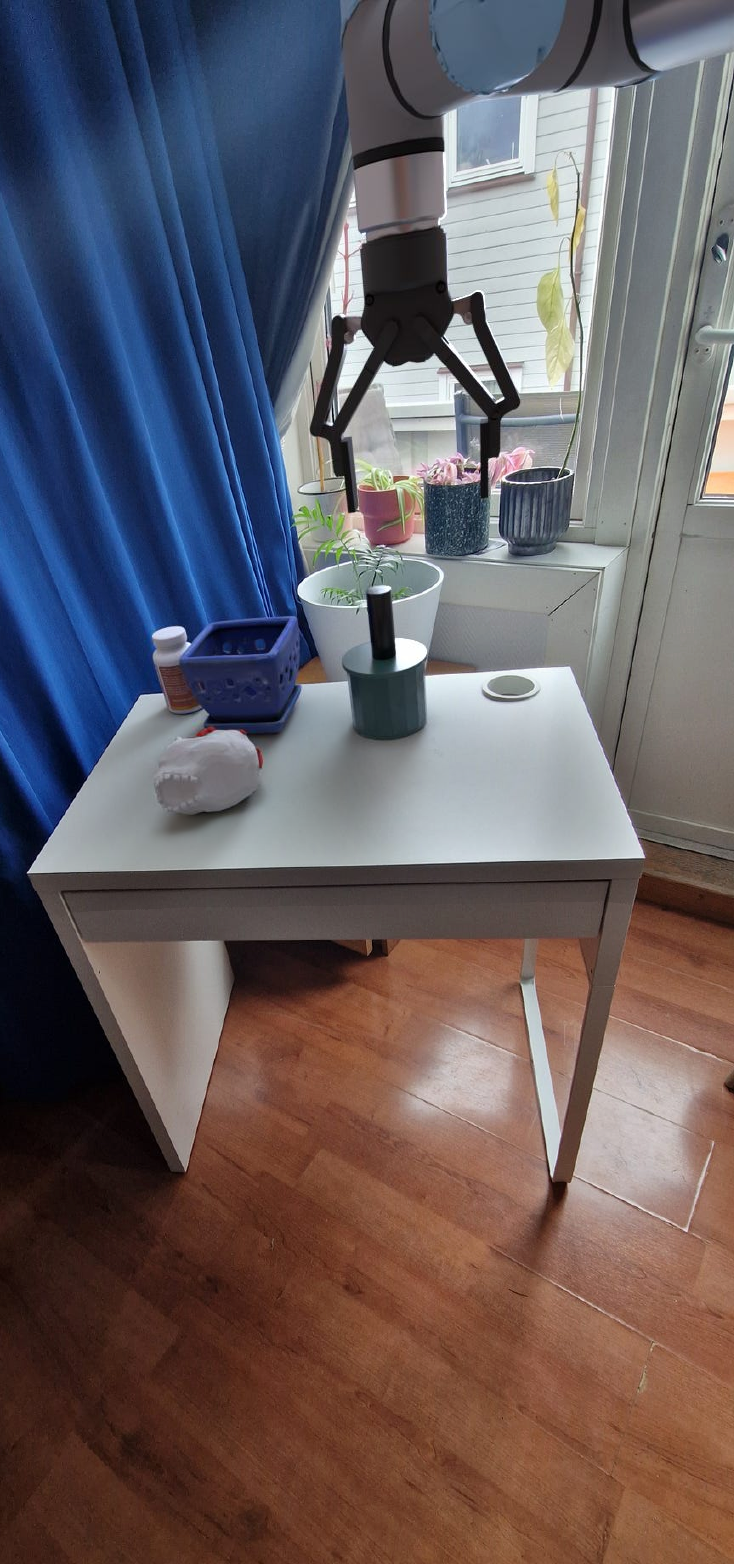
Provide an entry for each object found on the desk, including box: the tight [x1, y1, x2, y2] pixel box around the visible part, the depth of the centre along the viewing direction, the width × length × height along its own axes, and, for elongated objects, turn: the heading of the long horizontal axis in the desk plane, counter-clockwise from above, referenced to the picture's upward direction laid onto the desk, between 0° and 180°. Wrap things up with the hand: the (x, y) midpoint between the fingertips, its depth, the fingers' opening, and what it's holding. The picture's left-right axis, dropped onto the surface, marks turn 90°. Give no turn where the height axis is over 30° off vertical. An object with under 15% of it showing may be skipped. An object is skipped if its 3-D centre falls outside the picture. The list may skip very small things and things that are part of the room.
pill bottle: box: [151, 625, 203, 715], centre depth 105 cm, size 6×6×11 cm
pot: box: [346, 662, 428, 741], centre depth 93 cm, size 10×10×8 cm
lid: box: [341, 585, 428, 679], centre depth 88 cm, size 11×11×9 cm
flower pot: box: [179, 615, 303, 734], centre depth 98 cm, size 13×13×12 cm
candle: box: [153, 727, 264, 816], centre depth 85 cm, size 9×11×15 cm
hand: (417, 503), depth 76 cm, fingers open, 13 cm apart
